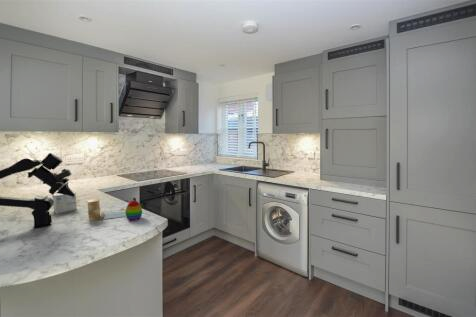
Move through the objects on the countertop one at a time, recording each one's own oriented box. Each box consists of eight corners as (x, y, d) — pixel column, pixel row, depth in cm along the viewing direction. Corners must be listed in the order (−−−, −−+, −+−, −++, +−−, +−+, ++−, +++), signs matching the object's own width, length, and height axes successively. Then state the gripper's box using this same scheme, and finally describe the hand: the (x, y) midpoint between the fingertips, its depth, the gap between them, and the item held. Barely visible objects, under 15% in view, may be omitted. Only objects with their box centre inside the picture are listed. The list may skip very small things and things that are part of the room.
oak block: (88, 220, 132) (87, 202, 131) (90, 217, 137) (88, 199, 136) (99, 219, 134) (98, 201, 133) (100, 216, 139) (99, 198, 138)
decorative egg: (123, 219, 133) (122, 201, 132) (137, 215, 139) (136, 198, 138) (130, 222, 128) (129, 203, 127) (145, 218, 134) (144, 200, 133)
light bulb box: (73, 207, 158) (72, 190, 157) (77, 209, 154) (76, 192, 153) (53, 211, 150) (51, 194, 149) (56, 213, 146) (55, 195, 145)
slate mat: (100, 220, 132) (100, 217, 132) (101, 215, 141) (101, 212, 141) (126, 216, 138) (125, 213, 138) (125, 211, 147) (125, 209, 147)
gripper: (55, 166, 119) (83, 186, 124) (63, 163, 136) (88, 181, 141) (36, 184, 116) (66, 204, 122) (46, 178, 133) (72, 196, 138)
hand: (74, 195), depth 131 cm, fingers closed
